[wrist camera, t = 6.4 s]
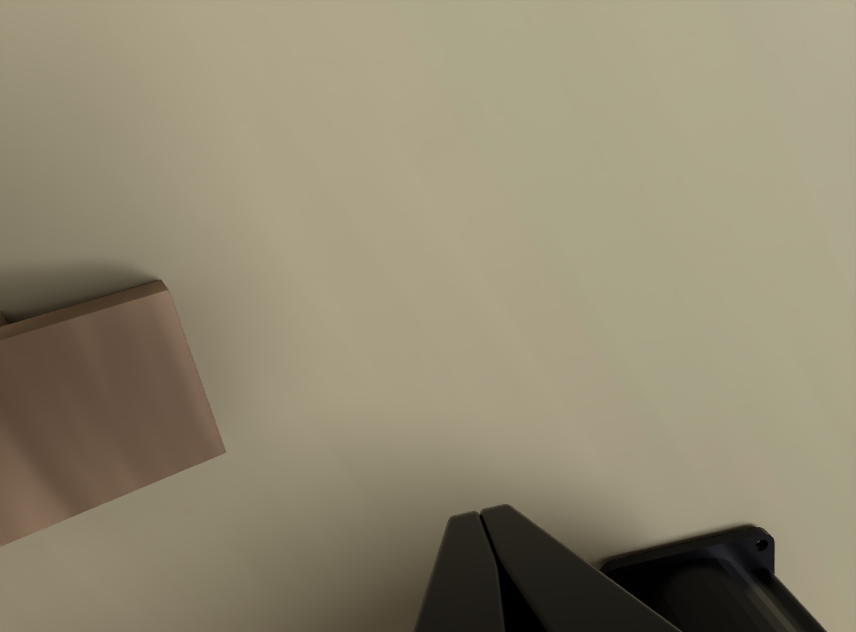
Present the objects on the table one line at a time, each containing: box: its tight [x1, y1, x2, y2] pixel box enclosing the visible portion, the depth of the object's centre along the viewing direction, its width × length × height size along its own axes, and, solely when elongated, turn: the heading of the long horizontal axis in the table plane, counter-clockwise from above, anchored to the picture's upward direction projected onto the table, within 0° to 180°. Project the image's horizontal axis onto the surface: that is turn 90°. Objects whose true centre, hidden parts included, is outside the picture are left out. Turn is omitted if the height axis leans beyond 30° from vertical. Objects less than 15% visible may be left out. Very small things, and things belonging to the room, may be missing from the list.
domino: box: [0, 280, 226, 546], centre depth 16 cm, size 2×5×9 cm
